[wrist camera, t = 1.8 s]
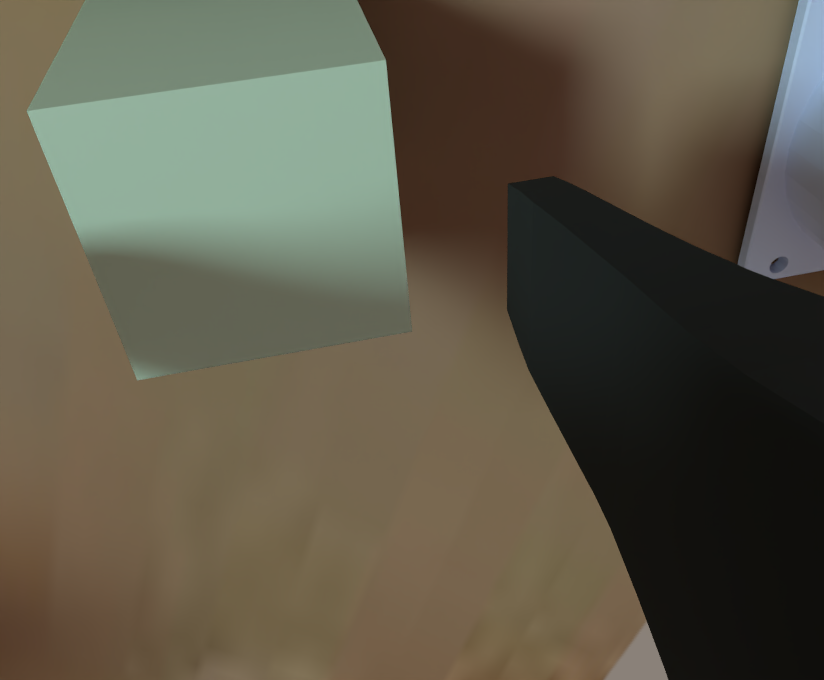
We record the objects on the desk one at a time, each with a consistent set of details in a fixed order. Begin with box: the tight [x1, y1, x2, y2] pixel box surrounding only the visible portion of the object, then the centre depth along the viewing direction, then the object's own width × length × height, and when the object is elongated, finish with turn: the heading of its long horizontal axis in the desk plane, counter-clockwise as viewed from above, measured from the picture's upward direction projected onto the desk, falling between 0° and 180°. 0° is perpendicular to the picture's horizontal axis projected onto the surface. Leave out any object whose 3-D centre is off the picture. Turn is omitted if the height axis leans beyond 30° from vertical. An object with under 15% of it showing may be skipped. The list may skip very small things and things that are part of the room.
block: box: [27, 0, 412, 380], centre depth 13 cm, size 4×4×6 cm
